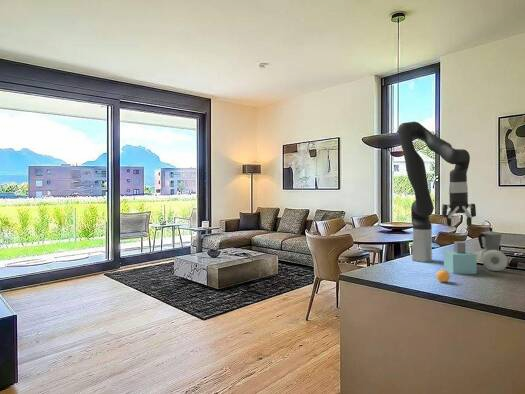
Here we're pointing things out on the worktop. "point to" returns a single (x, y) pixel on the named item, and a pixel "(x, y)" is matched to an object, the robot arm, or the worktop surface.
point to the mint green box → (460, 260)
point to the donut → (497, 254)
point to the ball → (443, 276)
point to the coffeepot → (489, 243)
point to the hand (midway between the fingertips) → (459, 226)
